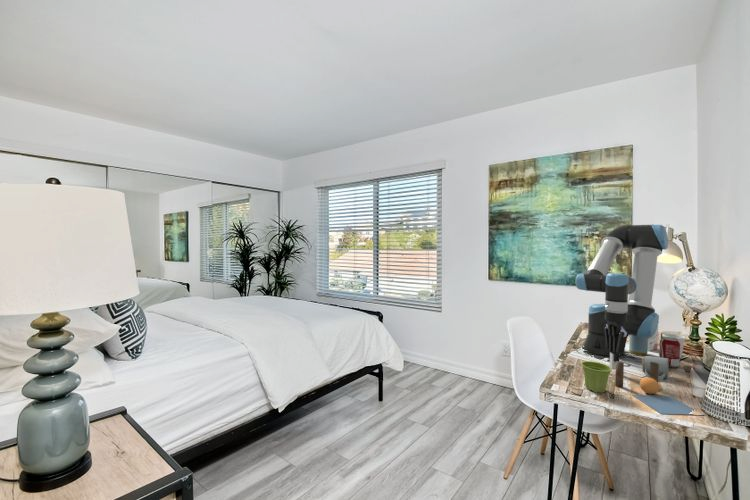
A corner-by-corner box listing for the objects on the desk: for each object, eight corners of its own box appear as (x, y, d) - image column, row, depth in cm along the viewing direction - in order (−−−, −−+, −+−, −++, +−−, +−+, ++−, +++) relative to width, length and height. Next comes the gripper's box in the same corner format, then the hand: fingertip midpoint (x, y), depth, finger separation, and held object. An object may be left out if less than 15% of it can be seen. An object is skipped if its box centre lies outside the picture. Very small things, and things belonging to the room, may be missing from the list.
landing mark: (670, 396, 120) (670, 396, 120) (704, 415, 107) (704, 415, 107) (632, 395, 120) (632, 394, 120) (660, 414, 107) (661, 413, 107)
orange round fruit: (650, 376, 125) (662, 379, 120) (652, 392, 124) (664, 395, 119) (635, 375, 125) (646, 378, 120) (636, 391, 124) (648, 395, 119)
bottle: (639, 350, 169) (640, 320, 169) (651, 355, 162) (652, 324, 162) (625, 350, 169) (626, 320, 169) (636, 355, 162) (637, 324, 162)
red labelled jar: (683, 369, 146) (684, 341, 146) (664, 367, 147) (665, 340, 147) (672, 363, 152) (673, 336, 152) (655, 362, 154) (656, 335, 153)
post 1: (620, 384, 129) (621, 361, 129) (624, 387, 127) (625, 363, 126) (613, 384, 129) (614, 361, 129) (617, 387, 127) (618, 363, 126)
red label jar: (682, 356, 163) (683, 335, 162) (686, 361, 155) (687, 339, 155) (660, 352, 167) (660, 332, 167) (663, 357, 160) (663, 336, 160)
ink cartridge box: (646, 346, 177) (647, 317, 177) (657, 348, 173) (658, 320, 173) (637, 348, 174) (638, 319, 173) (648, 351, 169) (649, 321, 169)
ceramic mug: (642, 370, 144) (643, 352, 144) (668, 375, 139) (669, 356, 139) (641, 378, 136) (641, 359, 136) (668, 383, 131) (668, 364, 131)
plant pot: (603, 385, 129) (604, 362, 129) (616, 396, 120) (617, 371, 119) (576, 382, 131) (577, 360, 130) (586, 393, 121) (587, 369, 121)
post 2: (654, 386, 128) (655, 362, 128) (659, 388, 126) (660, 364, 126) (647, 385, 128) (648, 362, 128) (652, 388, 126) (653, 364, 126)
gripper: (596, 307, 146) (595, 362, 147) (616, 314, 133) (614, 374, 134) (615, 308, 146) (613, 363, 147) (636, 315, 133) (634, 375, 134)
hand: (614, 368), depth 140 cm, fingers closed
